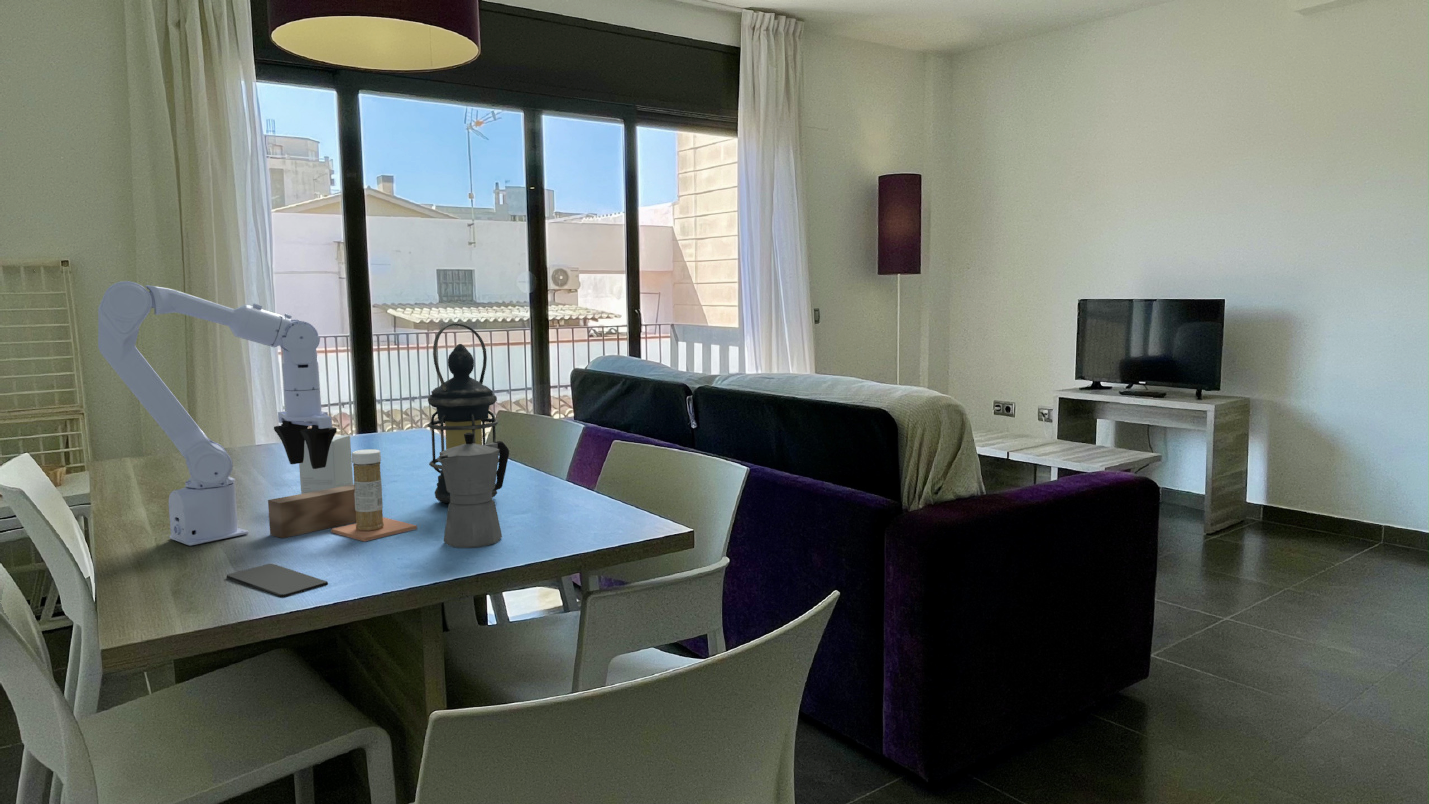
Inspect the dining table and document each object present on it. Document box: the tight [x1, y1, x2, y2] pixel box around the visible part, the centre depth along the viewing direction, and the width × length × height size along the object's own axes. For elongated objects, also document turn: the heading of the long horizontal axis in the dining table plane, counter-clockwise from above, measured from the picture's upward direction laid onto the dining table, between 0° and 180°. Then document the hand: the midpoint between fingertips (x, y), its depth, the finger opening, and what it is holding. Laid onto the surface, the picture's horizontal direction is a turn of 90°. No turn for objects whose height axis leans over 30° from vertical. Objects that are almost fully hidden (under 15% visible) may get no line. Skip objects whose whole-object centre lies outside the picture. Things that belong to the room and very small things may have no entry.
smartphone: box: [226, 563, 329, 598], centre depth 125 cm, size 7×1×15 cm
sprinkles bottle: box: [351, 448, 384, 531], centre depth 151 cm, size 5×5×13 cm
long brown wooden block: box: [267, 483, 356, 539], centre depth 156 cm, size 18×4×6 cm, turn 143°
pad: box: [330, 516, 418, 542], centre depth 153 cm, size 10×10×1 cm
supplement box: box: [298, 435, 354, 494], centre depth 176 cm, size 7×7×13 cm
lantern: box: [427, 322, 499, 504], centre depth 172 cm, size 14×13×35 cm
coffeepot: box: [436, 432, 510, 549], centre depth 146 cm, size 15×9×18 cm, turn 150°
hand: (307, 465), depth 157 cm, fingers open, 7 cm apart
